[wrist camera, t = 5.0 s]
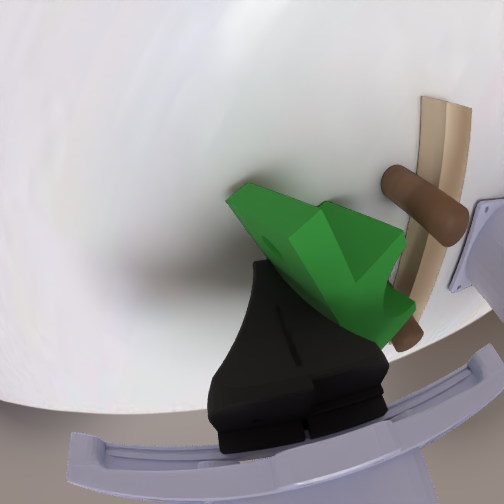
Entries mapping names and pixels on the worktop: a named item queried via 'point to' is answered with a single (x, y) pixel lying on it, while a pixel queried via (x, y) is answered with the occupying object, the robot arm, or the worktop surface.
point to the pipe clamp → (330, 259)
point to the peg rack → (430, 205)
